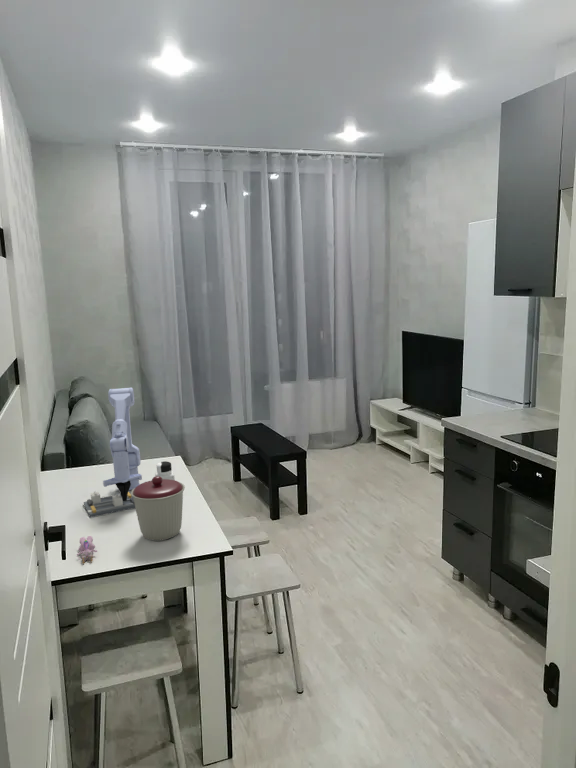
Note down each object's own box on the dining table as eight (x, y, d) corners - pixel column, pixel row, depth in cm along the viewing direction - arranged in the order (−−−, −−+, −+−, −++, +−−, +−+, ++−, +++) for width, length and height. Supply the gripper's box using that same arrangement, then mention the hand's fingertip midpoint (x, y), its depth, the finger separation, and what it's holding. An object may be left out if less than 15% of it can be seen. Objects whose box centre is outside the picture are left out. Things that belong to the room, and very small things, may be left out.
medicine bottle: (173, 486, 252) (171, 459, 250) (175, 491, 246) (173, 463, 243) (156, 488, 250) (154, 461, 248) (158, 494, 243) (155, 466, 241)
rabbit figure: (98, 565, 186) (96, 539, 200) (96, 549, 184) (94, 524, 198) (77, 569, 184) (76, 542, 198) (75, 553, 182) (74, 527, 196)
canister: (145, 523, 214) (140, 468, 210) (194, 523, 212) (189, 467, 208) (126, 545, 196) (121, 485, 192) (179, 546, 194) (174, 485, 190)
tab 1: (91, 501, 234) (90, 492, 234) (99, 499, 236) (98, 490, 235) (93, 504, 231) (92, 495, 230) (100, 502, 232) (100, 493, 232)
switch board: (83, 504, 235) (83, 499, 234) (133, 494, 244) (133, 489, 243) (90, 517, 221) (89, 512, 221) (143, 506, 231) (142, 500, 230)
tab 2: (112, 503, 230) (111, 494, 230) (120, 502, 232) (119, 493, 231) (115, 507, 227) (114, 497, 226) (122, 505, 228) (121, 496, 228)
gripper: (104, 473, 221) (107, 507, 224) (142, 466, 228) (145, 499, 230) (100, 468, 227) (104, 501, 230) (138, 461, 234) (141, 494, 236)
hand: (124, 500), depth 230 cm, fingers closed
